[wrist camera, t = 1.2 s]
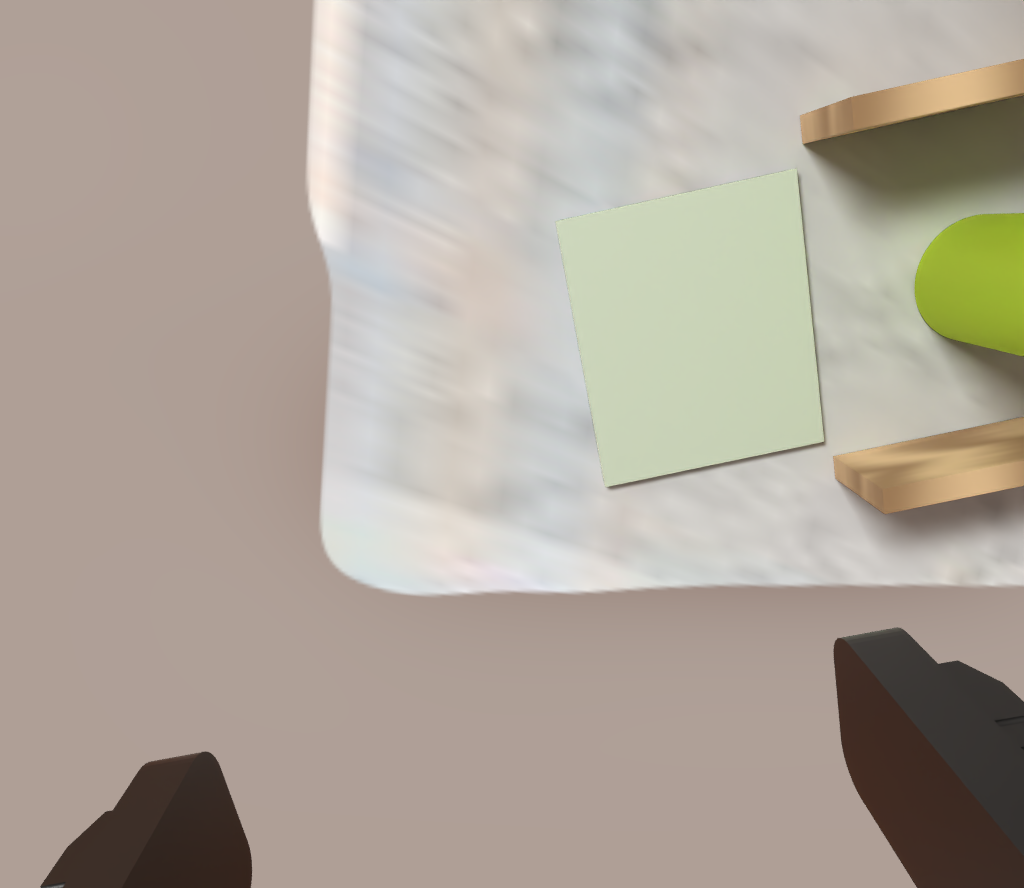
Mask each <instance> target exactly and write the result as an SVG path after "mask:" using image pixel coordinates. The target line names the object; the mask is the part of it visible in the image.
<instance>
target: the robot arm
mask: <svg viewBox="0 0 1024 888" xmlns="http://www.w3.org/2000/svg"><path fill="white" fill-rule="evenodd" d="M834 664H835V676H836V686H837V698H838V709H839V721H840V732H841V742H842V748H843V753H844V757H845V761H846V764H847V767H848V770H849V773H850V776H851V778H852V781H853V783H854V785H855V788H856V790H857V792H858V794H859V795H860V797H861V799H862V800H863V802H864V804H865V805H866V807H867V808H868V810H869V811H870V813H871V815H872V816H873V818H874V820H875V821H876V823H877V824H878V826H879V828H880V829H881V831H882V832H883V834H884V835H885V837H886V839H887V840H888V842H889V843H890V845H891V846H892V848H893V850H894V851H895V853H896V855H897V856H898V858H899V859H900V861H901V863H902V864H903V866H904V867H905V869H906V871H907V872H908V874H909V875H910V877H911V879H912V880H913V882H914V883H915V885H916V887H917V888H1024V702H1023V701H1022V700H1021V699H1020V698H1019V697H1018V696H1017V695H1016V694H1015V693H1013V692H1012V691H1011V690H1010V689H1009V688H1008V687H1007V686H1006V685H1005V684H1004V683H1002V682H1000V681H998V680H996V679H994V678H992V677H990V676H988V675H986V674H984V673H982V672H980V671H978V670H976V669H974V668H972V667H970V666H968V665H966V664H964V663H962V662H960V661H952V662H947V663H941V664H938V663H937V662H936V661H935V660H934V659H932V657H930V655H929V654H928V653H927V652H926V651H925V650H924V649H923V648H922V647H921V646H920V645H919V644H918V643H917V642H916V641H915V640H914V639H913V638H912V637H911V636H910V635H909V634H908V633H907V632H906V631H904V630H903V629H901V628H892V629H886V630H881V631H875V632H870V633H865V634H859V635H853V636H848V637H843V638H838V639H837V640H836V641H835V644H834ZM251 880H252V860H251V853H250V848H249V844H248V841H247V838H246V836H245V833H244V830H243V828H242V825H241V822H240V820H239V817H238V814H237V811H236V809H235V806H234V803H233V800H232V798H231V795H230V793H229V790H228V787H227V784H226V782H225V779H224V776H223V773H222V771H221V768H220V765H219V763H218V761H217V760H216V758H215V757H214V756H213V755H212V754H211V753H209V752H201V753H195V754H190V755H185V756H179V757H174V758H169V759H162V760H157V761H151V762H148V763H146V764H145V765H144V766H142V767H141V769H140V770H139V771H138V773H137V774H136V776H135V777H134V779H133V780H132V782H131V783H130V785H129V787H128V788H127V790H126V791H125V793H124V794H123V796H122V797H121V799H120V800H119V802H118V803H117V805H116V806H115V808H114V809H113V810H112V811H107V812H105V813H104V814H103V815H102V816H101V817H100V818H98V819H97V820H96V821H95V822H94V823H93V824H92V825H91V826H90V827H89V828H88V829H87V830H86V831H84V832H83V833H82V834H81V835H80V836H79V837H78V838H77V839H76V840H75V841H74V842H72V843H71V844H70V845H69V846H68V847H67V849H66V850H65V851H64V853H63V854H62V856H61V857H60V859H59V860H58V862H57V863H56V864H55V866H54V867H53V869H52V870H51V872H50V873H49V875H48V876H47V878H46V879H45V880H44V882H43V883H42V885H41V888H251Z"/></svg>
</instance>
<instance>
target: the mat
mask: <svg viewBox="0 0 1024 888" xmlns="http://www.w3.org/2000/svg"><path fill="white" fill-rule="evenodd" d="M555 223H556V228H557V234H558V239H559V244H560V250H561V255H562V260H563V266H564V271H565V276H566V282H567V287H568V292H569V298H570V303H571V308H572V314H573V319H574V324H575V330H576V335H577V340H578V346H579V351H580V357H581V362H582V367H583V373H584V378H585V383H586V389H587V394H588V399H589V405H590V410H591V415H592V421H593V426H594V431H595V437H596V442H597V447H598V453H599V458H600V463H601V469H602V474H603V479H604V485H605V487H608V486H613V485H618V484H623V483H628V482H632V481H637V480H642V479H647V478H652V477H657V476H661V475H666V474H671V473H676V472H681V471H685V470H690V469H695V468H700V467H705V466H709V465H714V464H719V463H724V462H729V461H733V460H738V459H743V458H748V457H753V456H758V455H762V454H767V453H772V452H777V451H782V450H786V449H791V448H796V447H801V446H806V445H810V444H815V443H820V442H824V435H823V425H822V415H821V405H820V395H819V385H818V375H817V365H816V355H815V346H814V336H813V326H812V316H811V306H810V296H809V286H808V276H807V266H806V256H805V246H804V236H803V226H802V216H801V206H800V196H799V186H798V176H797V169H792V170H787V171H783V172H778V173H773V174H769V175H764V176H760V177H755V178H751V179H746V180H741V181H737V182H732V183H728V184H723V185H719V186H714V187H710V188H705V189H700V190H696V191H691V192H687V193H682V194H678V195H673V196H668V197H664V198H659V199H655V200H650V201H646V202H641V203H637V204H632V205H627V206H623V207H618V208H614V209H609V210H605V211H600V212H595V213H591V214H586V215H582V216H577V217H573V218H568V219H563V220H559V221H555Z"/></svg>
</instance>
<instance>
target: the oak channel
mask: <svg viewBox="0 0 1024 888" xmlns="http://www.w3.org/2000/svg"><path fill="white" fill-rule="evenodd" d="M1023 95H1024V59H1021V60H1017V61H1012V62H1008V63H1003V64H999V65H994V66H989V67H985V68H980V69H976V70H971V71H967V72H962V73H958V74H953V75H949V76H944V77H940V78H935V79H931V80H926V81H922V82H917V83H913V84H908V85H904V86H899V87H895V88H890V89H886V90H881V91H877V92H872V93H868V94H863V95H859V96H854V97H850V98H847V99H845V100H842V101H839V102H836V103H834V104H831V105H828V106H825V107H823V108H820V109H817V110H814V111H812V112H809V113H806V114H803V115H800V120H801V131H802V141H803V144H805V143H809V142H814V141H818V140H823V139H827V138H832V137H837V136H841V135H846V134H850V133H855V132H859V131H864V130H868V129H873V128H877V127H882V126H887V125H891V124H896V123H900V122H905V121H909V120H914V119H918V118H923V117H927V116H932V115H936V114H941V113H946V112H950V111H955V110H959V109H964V108H968V107H973V106H977V105H982V104H986V103H991V102H996V101H1000V100H1005V99H1009V98H1014V97H1018V96H1023ZM833 459H834V469H835V479H837V480H838V481H840V482H841V483H842V484H844V485H845V486H846V487H848V488H849V489H851V490H852V491H853V492H855V493H856V494H857V495H859V496H860V497H862V498H863V499H864V500H866V501H867V502H868V503H870V504H871V505H873V506H874V507H875V508H877V509H878V510H879V511H881V512H882V513H884V514H888V513H893V512H898V511H903V510H908V509H912V508H917V507H922V506H927V505H932V504H937V503H942V502H947V501H952V500H956V499H961V498H966V497H971V496H976V495H981V494H986V493H991V492H996V491H1000V490H1005V489H1010V488H1015V487H1020V486H1024V417H1021V418H1016V419H1011V420H1007V421H1002V422H997V423H992V424H987V425H982V426H978V427H973V428H968V429H963V430H958V431H953V432H949V433H944V434H939V435H934V436H929V437H925V438H920V439H915V440H910V441H905V442H900V443H896V444H891V445H886V446H881V447H876V448H871V449H867V450H862V451H857V452H852V453H847V454H842V455H838V456H833Z"/></svg>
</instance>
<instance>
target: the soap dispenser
mask: <svg viewBox="0 0 1024 888" xmlns="http://www.w3.org/2000/svg"><path fill="white" fill-rule="evenodd" d="M915 298H916V303H917V306H918V309H919V312H920V314H921V316H922V317H923V319H924V320H925V322H926V323H927V324H928V325H929V326H930V327H931V328H932V329H933V330H934V331H936V332H937V333H939V334H940V335H942V336H944V337H947V338H949V339H953V340H957V341H961V342H965V343H969V344H974V345H978V346H982V347H986V348H990V349H994V350H998V351H1003V352H1007V353H1011V354H1015V355H1019V356H1023V357H1024V213H1012V214H982V215H975V216H971V217H967V218H965V219H962V220H960V221H958V222H956V223H954V224H952V225H951V226H949V227H948V228H946V229H945V230H944V231H942V232H941V233H940V234H939V235H938V236H937V237H936V238H935V239H934V240H933V241H932V243H931V244H930V245H929V247H928V248H927V250H926V251H925V253H924V255H923V257H922V259H921V261H920V263H919V266H918V269H917V273H916V278H915Z"/></svg>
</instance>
